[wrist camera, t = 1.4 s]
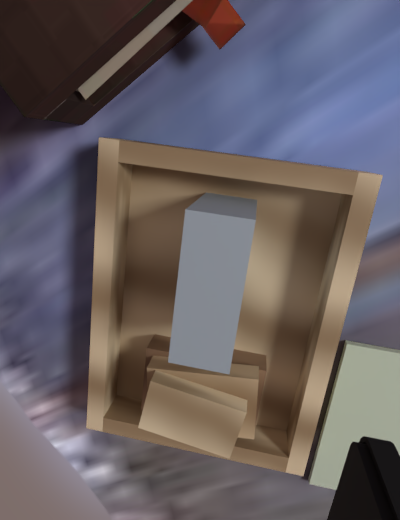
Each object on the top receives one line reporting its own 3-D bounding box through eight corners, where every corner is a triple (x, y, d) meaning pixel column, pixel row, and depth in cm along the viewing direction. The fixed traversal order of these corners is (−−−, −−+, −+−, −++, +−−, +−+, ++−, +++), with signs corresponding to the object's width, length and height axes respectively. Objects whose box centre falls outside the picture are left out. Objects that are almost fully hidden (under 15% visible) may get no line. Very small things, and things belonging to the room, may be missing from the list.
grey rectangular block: (237, 316, 26) (229, 374, 19) (191, 308, 26) (167, 362, 20) (257, 199, 24) (255, 220, 17) (206, 192, 24) (185, 209, 17)
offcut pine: (230, 444, 25) (229, 458, 24) (143, 415, 25) (138, 427, 24) (247, 400, 24) (246, 412, 22) (155, 369, 24) (150, 381, 23)
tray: (299, 443, 28) (303, 476, 26) (103, 401, 30) (86, 428, 27) (367, 171, 22) (382, 175, 20) (117, 138, 24) (98, 137, 21)
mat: (417, 502, 28) (419, 508, 28) (308, 478, 29) (309, 483, 29) (471, 363, 25) (475, 367, 24) (345, 340, 26) (347, 343, 25)
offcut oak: (254, 423, 26) (254, 439, 24) (154, 411, 27) (148, 425, 25) (258, 366, 24) (258, 379, 23) (153, 355, 25) (146, 367, 24)
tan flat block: (254, 414, 28) (253, 434, 26) (148, 392, 29) (140, 410, 27) (266, 355, 26) (266, 371, 24) (154, 334, 27) (146, 347, 25)
